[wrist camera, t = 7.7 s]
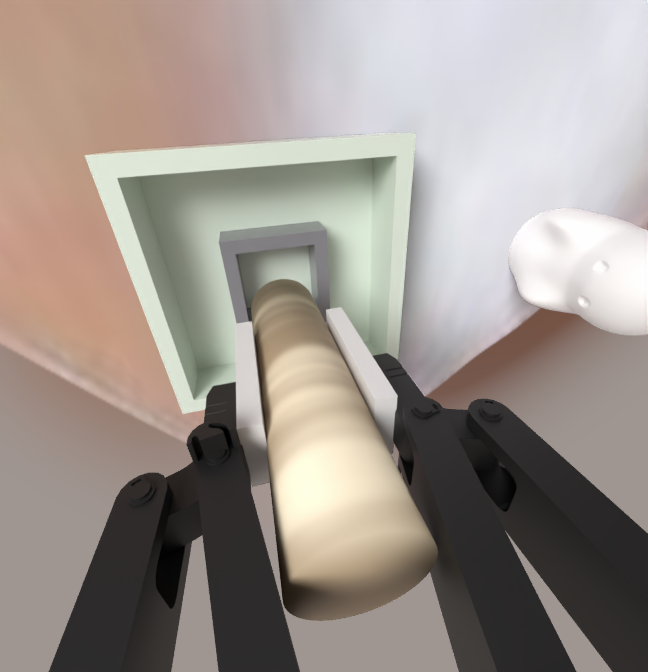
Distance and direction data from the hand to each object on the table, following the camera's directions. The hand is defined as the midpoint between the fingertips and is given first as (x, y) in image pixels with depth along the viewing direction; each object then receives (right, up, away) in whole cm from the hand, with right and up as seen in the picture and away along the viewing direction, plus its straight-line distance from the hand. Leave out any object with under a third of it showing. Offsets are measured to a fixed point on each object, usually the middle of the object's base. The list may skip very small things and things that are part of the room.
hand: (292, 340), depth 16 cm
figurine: (+19, +8, +12) cm, 24 cm away
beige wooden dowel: (-1, +2, +3) cm, 4 cm away
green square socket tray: (-2, +5, +8) cm, 10 cm away
